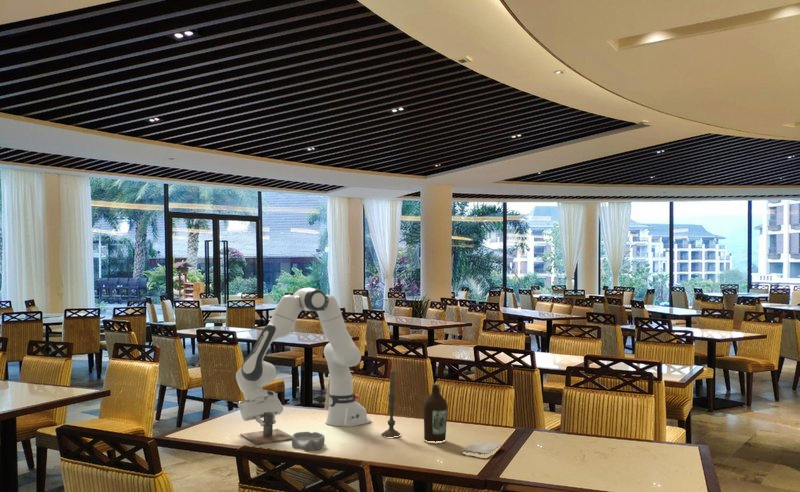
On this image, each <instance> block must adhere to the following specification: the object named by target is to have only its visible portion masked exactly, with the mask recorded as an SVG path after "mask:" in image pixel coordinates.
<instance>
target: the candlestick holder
mask: <svg viewBox="0 0 800 492" xmlns="http://www.w3.org/2000/svg"><path fill="white" fill-rule="evenodd" d="M389 373H390V374H389V393H388V394H387V396H388V402H389V403H390V404H389V419H388V420H387V424H388V428H387V429H386V430H385V431H383V432H382V433H381V435H382V436H385V437H394V436H399V435H400V434H401V433H400V432H399V431H397V430H395V428H394V426H395V425H396V420H395V419H394V410H395V404H394V403H395V402H396V397H397V394H396V393H395V391H396V390H395V389H396V386H395V385H396V383H395V382H396V380H395V379H396V378H395V377H396V374H395V373H396V371H395V370H394V369H393V368H392V370H390V372H389ZM381 435H380V436H381ZM382 436H381V437H382ZM385 437H384V438H385Z"/></svg>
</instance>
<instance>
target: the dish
mask: <svg viewBox="0 0 800 492" xmlns="http://www.w3.org/2000/svg"><path fill="white" fill-rule="evenodd" d="M291 436H292V441H291V446H292V448H293V447H294V448H296V449H300V450H301V451H316V450H319V449H322V448H323V447H324V445H325V441H326V440H325V435H324V434H323V433H320V432H318V431H313V432H311V431H299V432H294V433H293V434H292V435H291Z"/></svg>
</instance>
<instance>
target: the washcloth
mask: <svg viewBox="0 0 800 492" xmlns="http://www.w3.org/2000/svg"><path fill="white" fill-rule="evenodd" d="M501 445H502V444H500V443H499V444H498V443H491V442H490V443H488V442H485V441H475V442H474V443H471V444H469V445H468V446H465V448H462V449H461V451H462V452H461V451H460V452H461V453H463V452H466V453H469V452H470V453H473V454H475V453H477V454H479V455H481V454H484V455H485V454H489V453H491V451H493V450H495V449H496V448H498V447H499V446H501Z"/></svg>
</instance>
